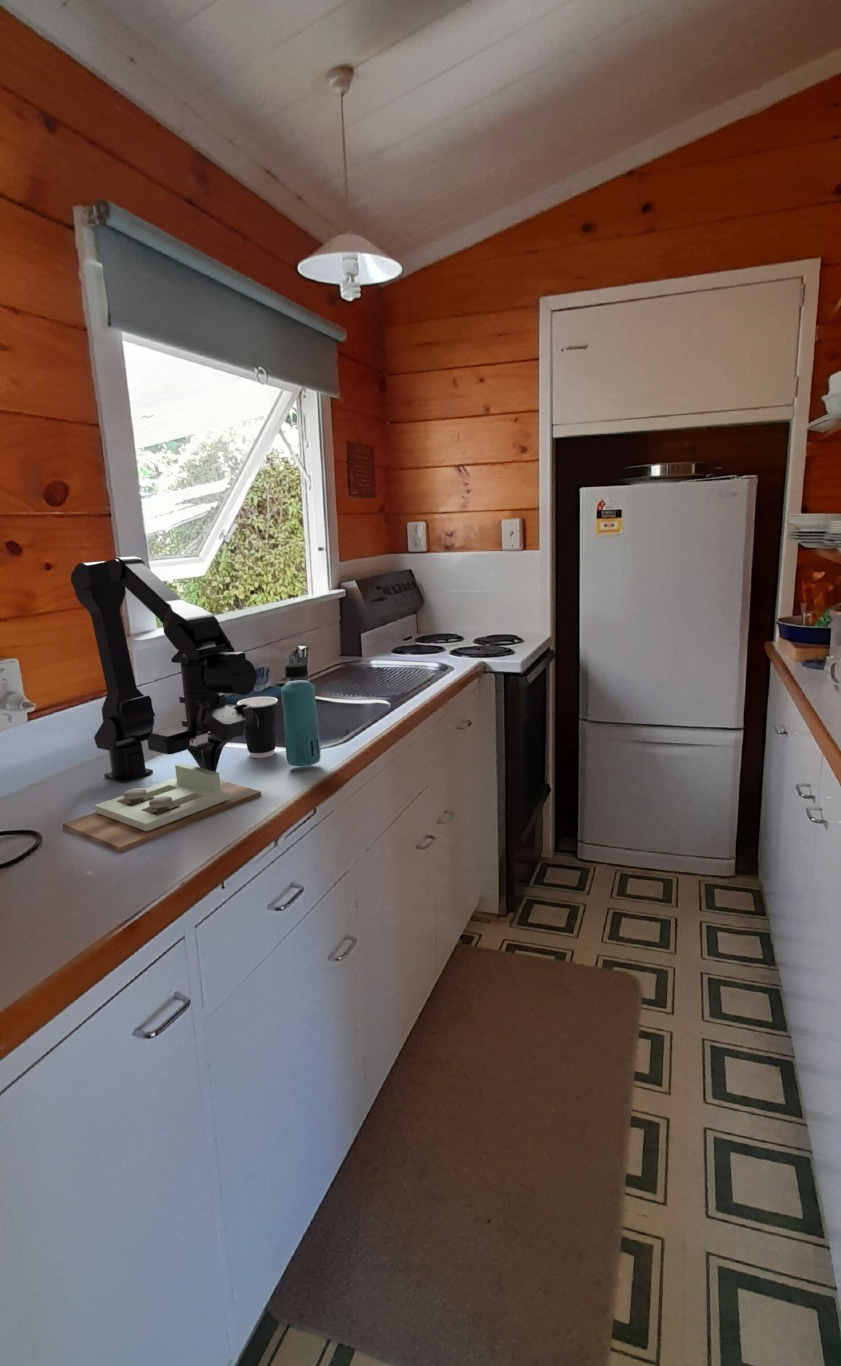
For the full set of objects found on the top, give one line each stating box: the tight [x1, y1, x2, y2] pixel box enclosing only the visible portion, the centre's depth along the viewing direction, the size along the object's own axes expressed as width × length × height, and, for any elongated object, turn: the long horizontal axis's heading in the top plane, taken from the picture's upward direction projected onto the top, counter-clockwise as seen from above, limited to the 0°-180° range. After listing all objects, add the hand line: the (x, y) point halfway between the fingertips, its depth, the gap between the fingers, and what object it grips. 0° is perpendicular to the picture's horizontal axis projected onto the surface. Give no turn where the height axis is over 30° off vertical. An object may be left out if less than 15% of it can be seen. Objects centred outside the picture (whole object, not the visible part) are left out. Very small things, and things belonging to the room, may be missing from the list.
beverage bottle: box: [280, 662, 322, 767], centre depth 136 cm, size 6×7×20 cm
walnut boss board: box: [61, 780, 262, 853], centre depth 119 cm, size 16×26×4 cm, turn 143°
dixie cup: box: [236, 696, 278, 759], centre depth 147 cm, size 8×8×11 cm
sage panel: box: [94, 762, 229, 831], centre depth 119 cm, size 14×15×4 cm
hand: (210, 778), depth 126 cm, fingers closed
